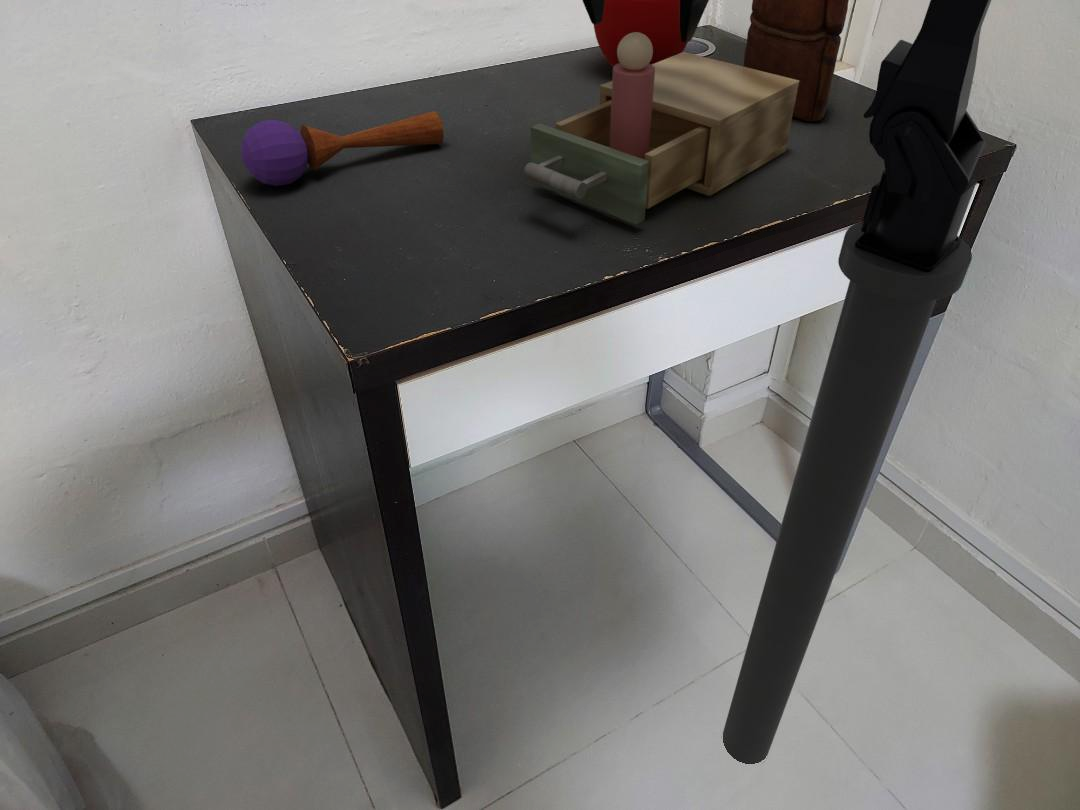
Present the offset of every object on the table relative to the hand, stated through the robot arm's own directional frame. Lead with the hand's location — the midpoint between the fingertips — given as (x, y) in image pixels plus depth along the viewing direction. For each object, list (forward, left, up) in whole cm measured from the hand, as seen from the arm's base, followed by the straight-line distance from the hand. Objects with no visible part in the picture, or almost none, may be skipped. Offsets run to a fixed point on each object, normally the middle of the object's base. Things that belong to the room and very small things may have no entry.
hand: (640, 32), depth 67 cm
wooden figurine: (-1, -27, -14) cm, 30 cm away
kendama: (+23, +16, -13) cm, 31 cm away
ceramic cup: (+19, -28, -13) cm, 36 cm away
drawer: (-1, +4, -12) cm, 13 cm away
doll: (-1, +2, -11) cm, 12 cm away
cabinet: (-1, -9, -13) cm, 16 cm away
